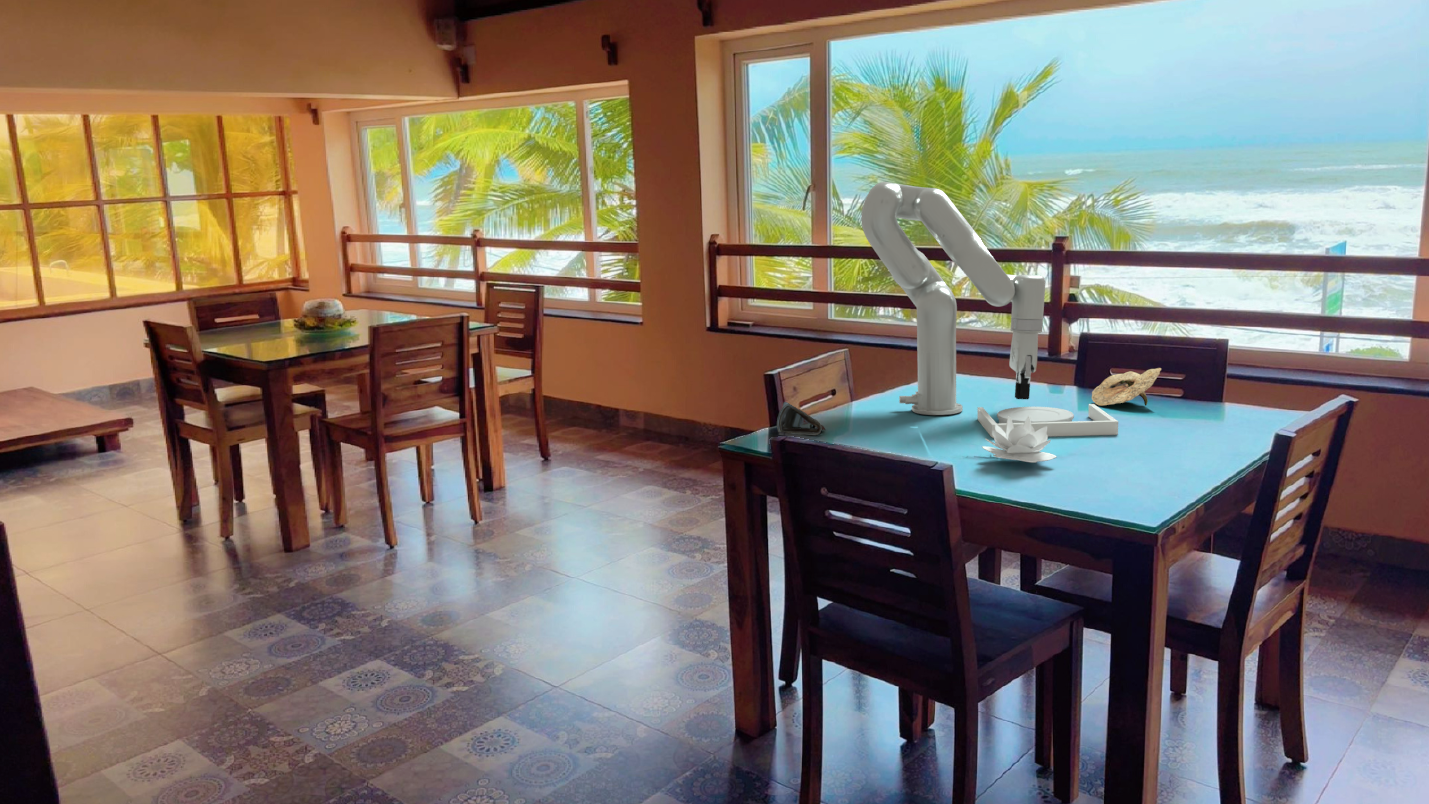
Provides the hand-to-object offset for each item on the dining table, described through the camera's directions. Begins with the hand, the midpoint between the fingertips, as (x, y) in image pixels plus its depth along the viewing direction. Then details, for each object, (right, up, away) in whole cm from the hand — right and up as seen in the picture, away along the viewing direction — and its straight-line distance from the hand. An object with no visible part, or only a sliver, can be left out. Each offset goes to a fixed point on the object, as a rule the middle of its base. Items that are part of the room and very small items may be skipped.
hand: (1021, 398), depth 264 cm
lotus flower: (-14, -13, -45) cm, 49 cm away
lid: (-1, -7, -17) cm, 19 cm away
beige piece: (+29, -3, +2) cm, 29 cm away
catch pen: (0, -6, -18) cm, 19 cm away
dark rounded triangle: (-52, -11, -15) cm, 56 cm away
